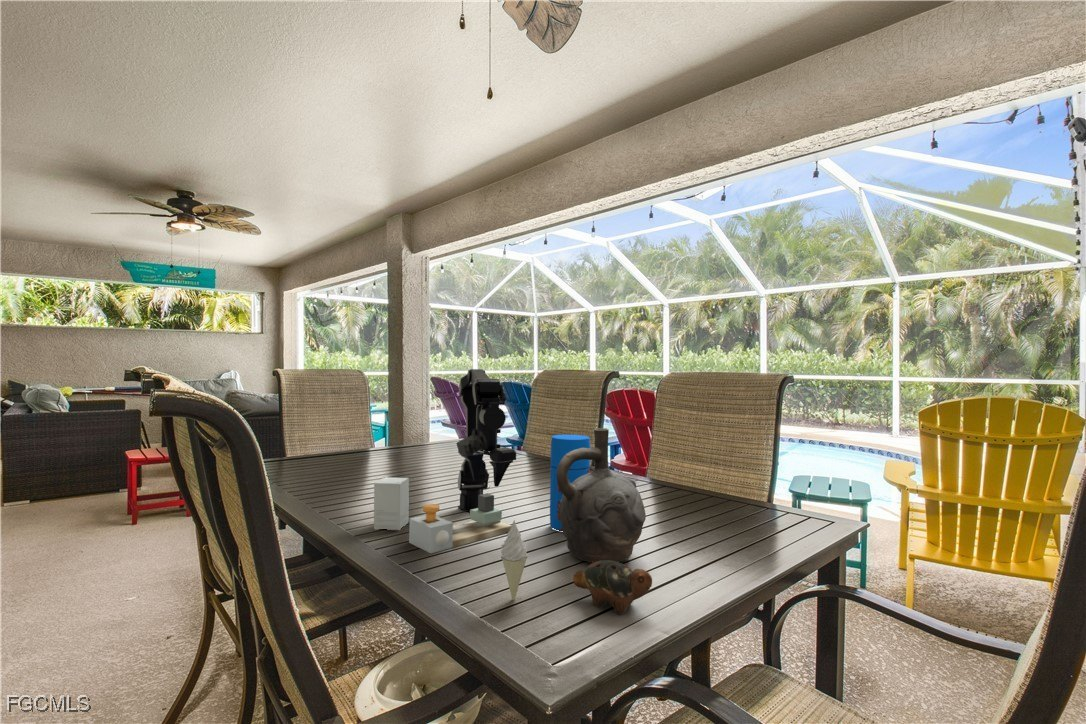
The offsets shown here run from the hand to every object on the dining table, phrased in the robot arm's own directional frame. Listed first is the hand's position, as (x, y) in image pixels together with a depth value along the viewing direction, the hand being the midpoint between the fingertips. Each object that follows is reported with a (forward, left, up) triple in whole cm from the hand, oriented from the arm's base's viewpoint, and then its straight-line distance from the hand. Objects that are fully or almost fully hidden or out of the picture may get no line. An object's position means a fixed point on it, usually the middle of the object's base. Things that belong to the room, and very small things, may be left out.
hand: (485, 483), depth 138 cm
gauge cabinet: (+17, 0, -13) cm, 21 cm away
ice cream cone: (+21, +36, -13) cm, 44 cm away
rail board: (+4, 0, -13) cm, 13 cm away
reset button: (+17, 0, -7) cm, 18 cm away
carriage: (0, 0, -10) cm, 10 cm away
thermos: (-19, +13, -13) cm, 27 cm away
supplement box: (+17, -20, -13) cm, 29 cm away
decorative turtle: (+9, +50, -13) cm, 53 cm away
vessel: (-8, +32, -13) cm, 36 cm away
